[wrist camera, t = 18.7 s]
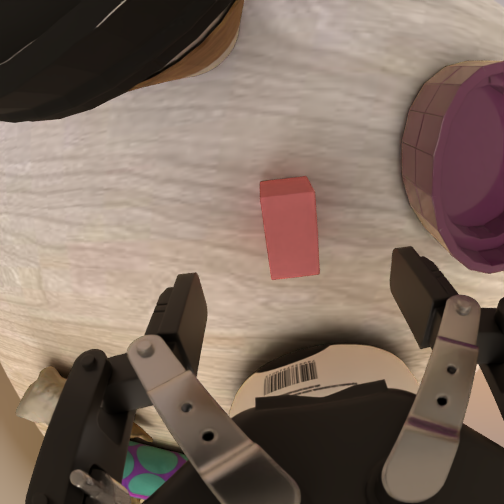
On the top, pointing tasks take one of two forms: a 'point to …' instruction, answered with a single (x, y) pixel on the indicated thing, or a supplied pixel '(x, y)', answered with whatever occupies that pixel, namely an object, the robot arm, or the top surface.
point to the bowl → (459, 161)
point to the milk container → (324, 373)
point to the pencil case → (149, 468)
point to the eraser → (290, 227)
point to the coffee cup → (104, 50)
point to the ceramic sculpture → (53, 401)
